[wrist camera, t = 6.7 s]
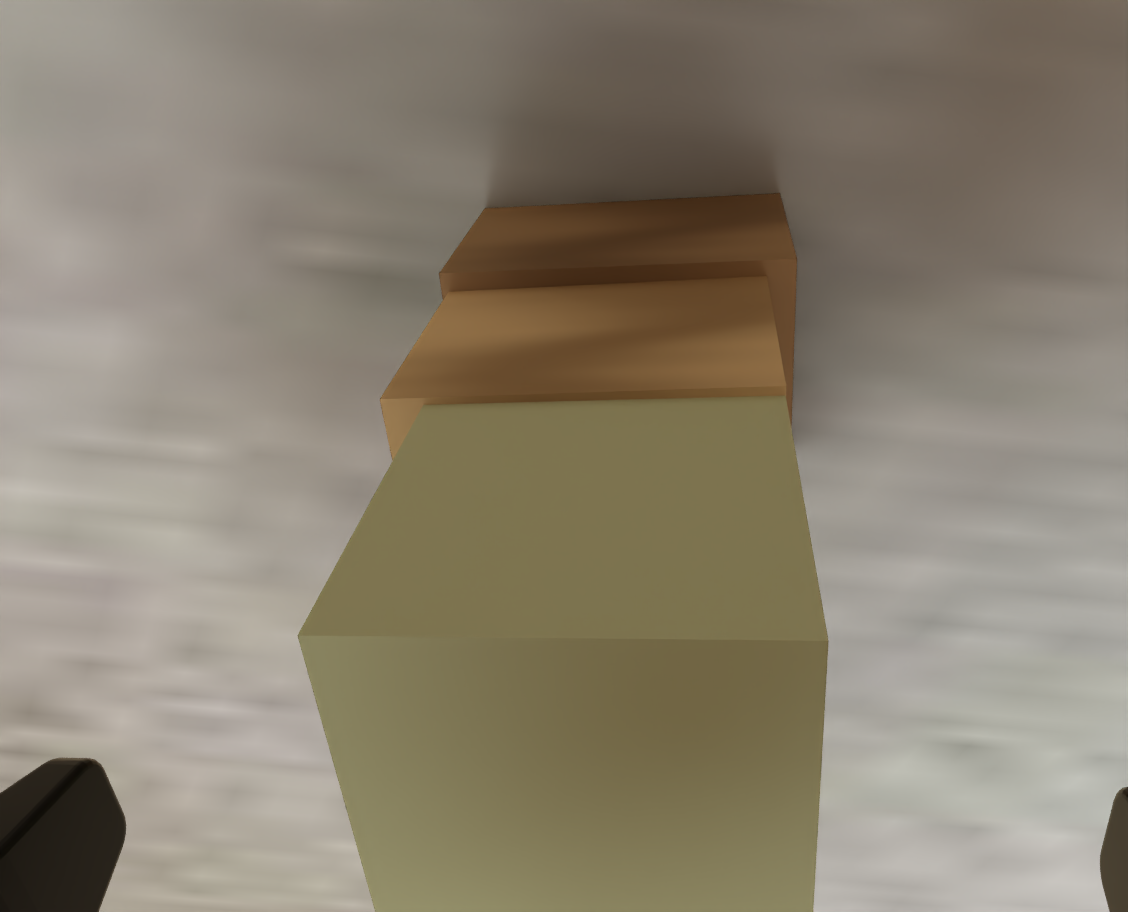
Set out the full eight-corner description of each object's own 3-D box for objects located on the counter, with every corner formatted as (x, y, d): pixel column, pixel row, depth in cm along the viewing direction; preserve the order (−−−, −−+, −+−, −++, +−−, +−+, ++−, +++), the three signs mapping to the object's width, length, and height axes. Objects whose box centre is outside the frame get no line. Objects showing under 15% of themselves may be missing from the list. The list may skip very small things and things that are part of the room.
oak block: (767, 275, 13) (785, 385, 10) (765, 546, 16) (781, 702, 13) (448, 291, 14) (379, 399, 11) (489, 549, 16) (440, 697, 13)
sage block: (785, 395, 10) (828, 640, 7) (777, 679, 12) (809, 982, 9) (423, 404, 11) (298, 636, 8) (470, 674, 13) (388, 955, 10)
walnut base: (779, 192, 16) (797, 258, 13) (773, 453, 19) (786, 560, 16) (485, 207, 17) (439, 273, 14) (516, 457, 19) (482, 559, 16)
